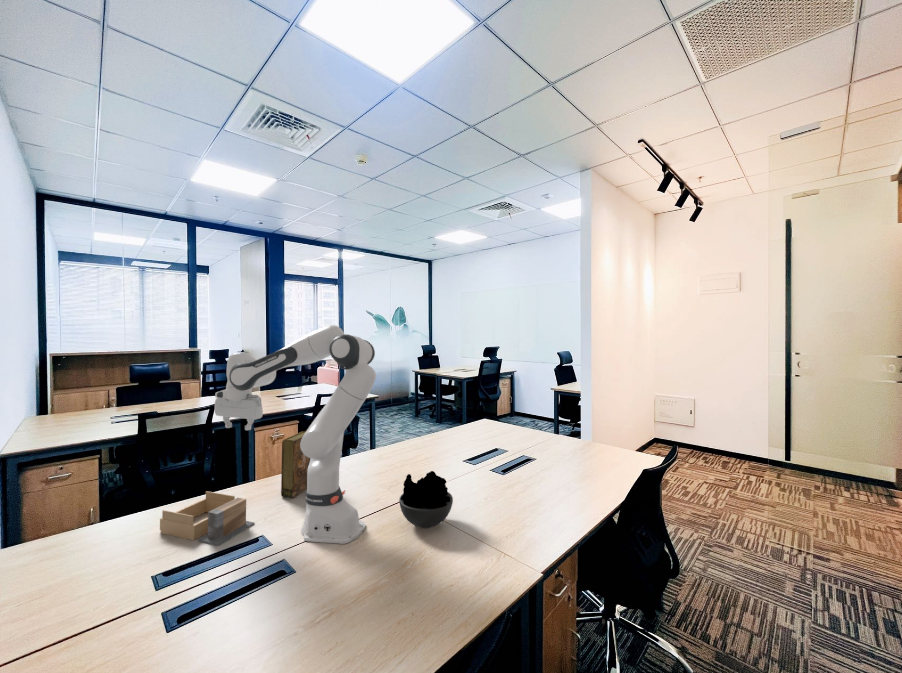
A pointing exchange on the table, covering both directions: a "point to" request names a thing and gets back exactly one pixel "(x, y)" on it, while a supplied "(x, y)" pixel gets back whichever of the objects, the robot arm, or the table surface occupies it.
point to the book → (293, 467)
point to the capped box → (226, 518)
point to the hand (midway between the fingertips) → (238, 428)
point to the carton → (192, 517)
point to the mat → (226, 537)
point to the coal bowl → (425, 500)
